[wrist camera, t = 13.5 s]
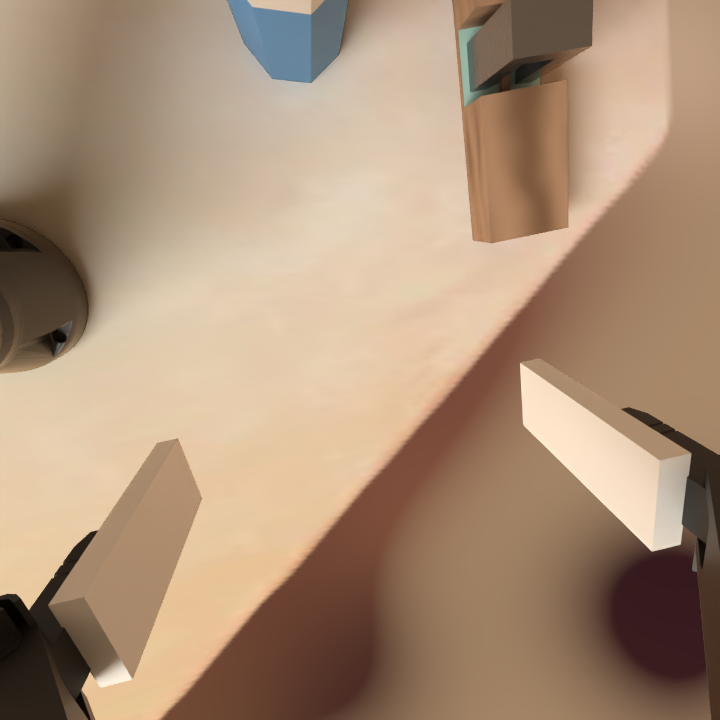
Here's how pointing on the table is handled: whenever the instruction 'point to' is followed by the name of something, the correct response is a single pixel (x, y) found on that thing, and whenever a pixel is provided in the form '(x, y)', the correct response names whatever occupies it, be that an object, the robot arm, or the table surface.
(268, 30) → the water bottle
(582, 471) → the robot arm
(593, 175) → the table surface
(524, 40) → the clip
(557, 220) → the rail
